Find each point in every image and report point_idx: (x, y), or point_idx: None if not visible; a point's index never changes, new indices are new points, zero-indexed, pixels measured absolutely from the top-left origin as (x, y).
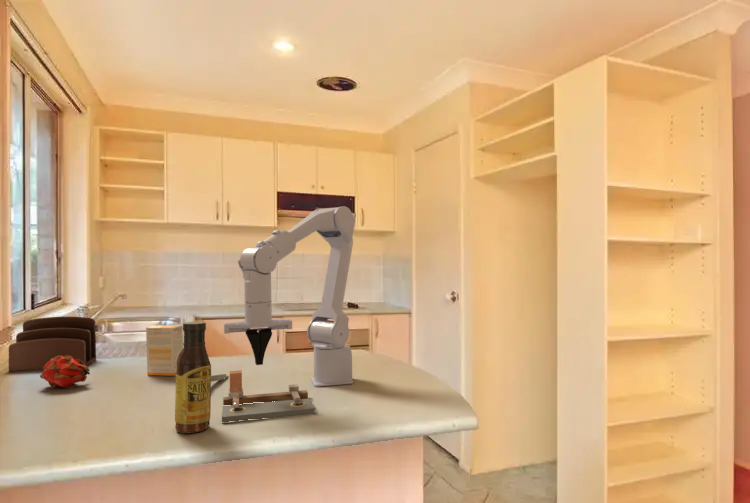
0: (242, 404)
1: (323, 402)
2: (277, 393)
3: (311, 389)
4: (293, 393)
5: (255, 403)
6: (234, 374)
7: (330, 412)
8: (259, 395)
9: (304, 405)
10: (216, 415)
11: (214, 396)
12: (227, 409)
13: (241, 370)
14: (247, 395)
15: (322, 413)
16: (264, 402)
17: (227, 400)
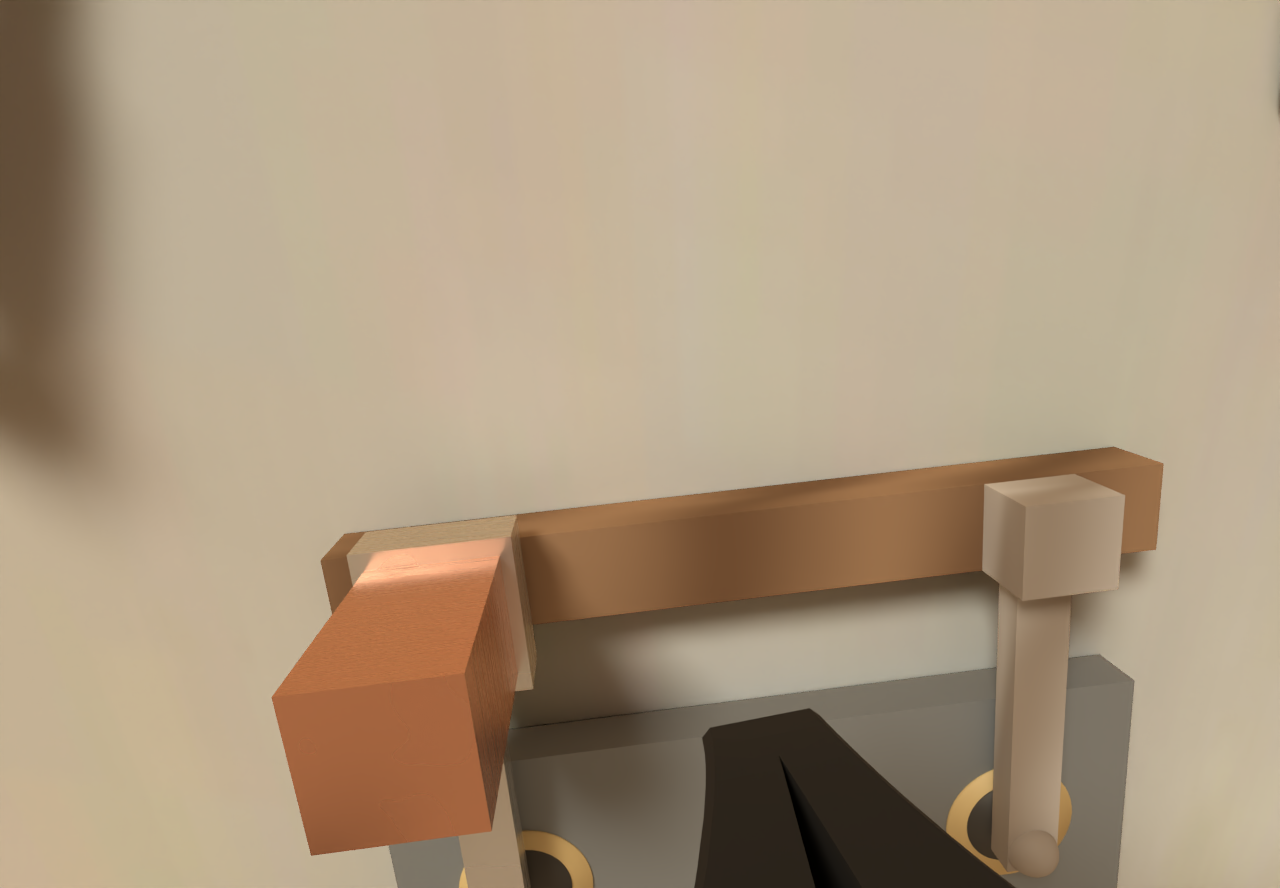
0: (546, 756)
1: (1210, 629)
2: (869, 530)
3: (1215, 185)
4: (1024, 673)
5: (660, 750)
6: (387, 834)
7: (1193, 855)
8: (690, 563)
9: None
10: None
11: (171, 231)
12: (435, 863)
13: (463, 688)
14: (567, 541)
15: (1136, 867)
16: None
17: None
